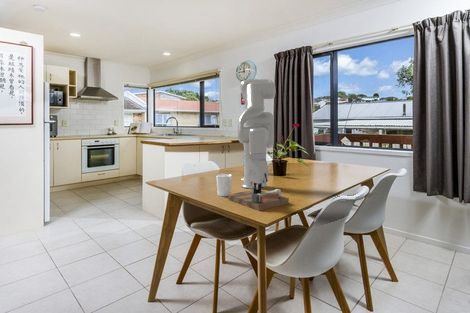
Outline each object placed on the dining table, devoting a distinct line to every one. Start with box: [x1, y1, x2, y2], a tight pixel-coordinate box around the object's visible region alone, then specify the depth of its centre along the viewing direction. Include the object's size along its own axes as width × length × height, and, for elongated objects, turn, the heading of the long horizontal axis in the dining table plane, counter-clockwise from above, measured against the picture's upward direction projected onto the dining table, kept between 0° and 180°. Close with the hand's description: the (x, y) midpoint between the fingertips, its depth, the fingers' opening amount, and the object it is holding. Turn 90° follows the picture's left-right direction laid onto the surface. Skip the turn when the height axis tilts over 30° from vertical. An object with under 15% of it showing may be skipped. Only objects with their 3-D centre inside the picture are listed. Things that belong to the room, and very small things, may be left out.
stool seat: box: [227, 189, 290, 211], centre depth 132 cm, size 22×18×6 cm
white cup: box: [215, 173, 233, 197], centre depth 145 cm, size 8×8×10 cm
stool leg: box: [252, 188, 282, 203], centre depth 126 cm, size 16×3×3 cm, turn 129°
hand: (257, 197), depth 127 cm, fingers closed
